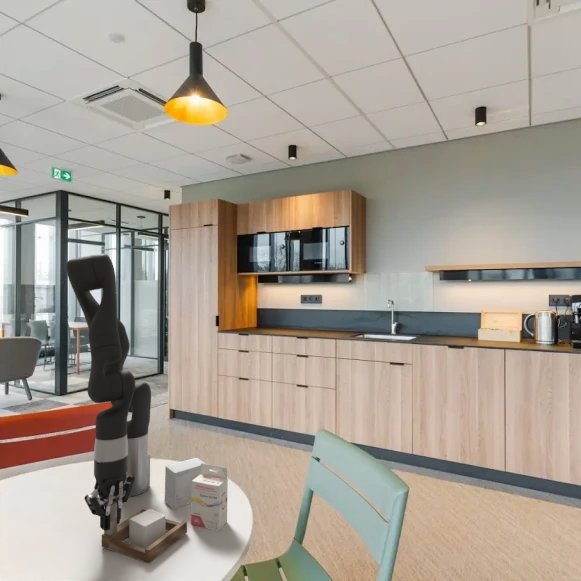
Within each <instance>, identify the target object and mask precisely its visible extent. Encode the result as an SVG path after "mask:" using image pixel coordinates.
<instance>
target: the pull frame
mask: <svg viewBox="0 0 581 581" xmlns="http://www.w3.org/2000/svg"><path fill="white" fill-rule="evenodd" d="M104 509H105V505H104ZM147 510H148V509H144V508H142V509H141V510H139V511H138V512H136V513H134V514H133V515H131V516H130V517H128V518H127V519H125V520H123V521H121V522H120V523H119V524H117V502H115V501H113V502H112V504H111V507H110V529H109V530H108V531H105V530H103V534H101V548H104V549H107V550H110V551H114V552H115V553H119V554H122V555H124V556H127V557H130V558H133V559H136V560H139V561H142V562H145V563H148V564H150V563H151V562H152V561H153V560H154V559H156V558H157V557H158V556H160V555H161V554H162V553H163V552H165V551H167V549H169V548H170V547H171V546H173V545H174V544H175V543H176V542H177V541H179V540H180V539H181V538H182V537H183V536H185V535H186V534H187V533H188V521H187V520H182V521H180V522H179V521H175V520H172V519H169V518H165V531H168V532H165V535H163V536H162V537H161V538H159V539H158V540H157V541H155V542H154V543H153V544H151V545H150V546H149V547H147V548H146V549H145V548H142V547H139V546H136V545H132V544H130V543H129V542H126V541H124V540H125V539H126V538H128V537H129V524H130V518H132V517H134V516H137V515H139V514H141V513H143V512H145V511H147Z"/></svg>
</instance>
